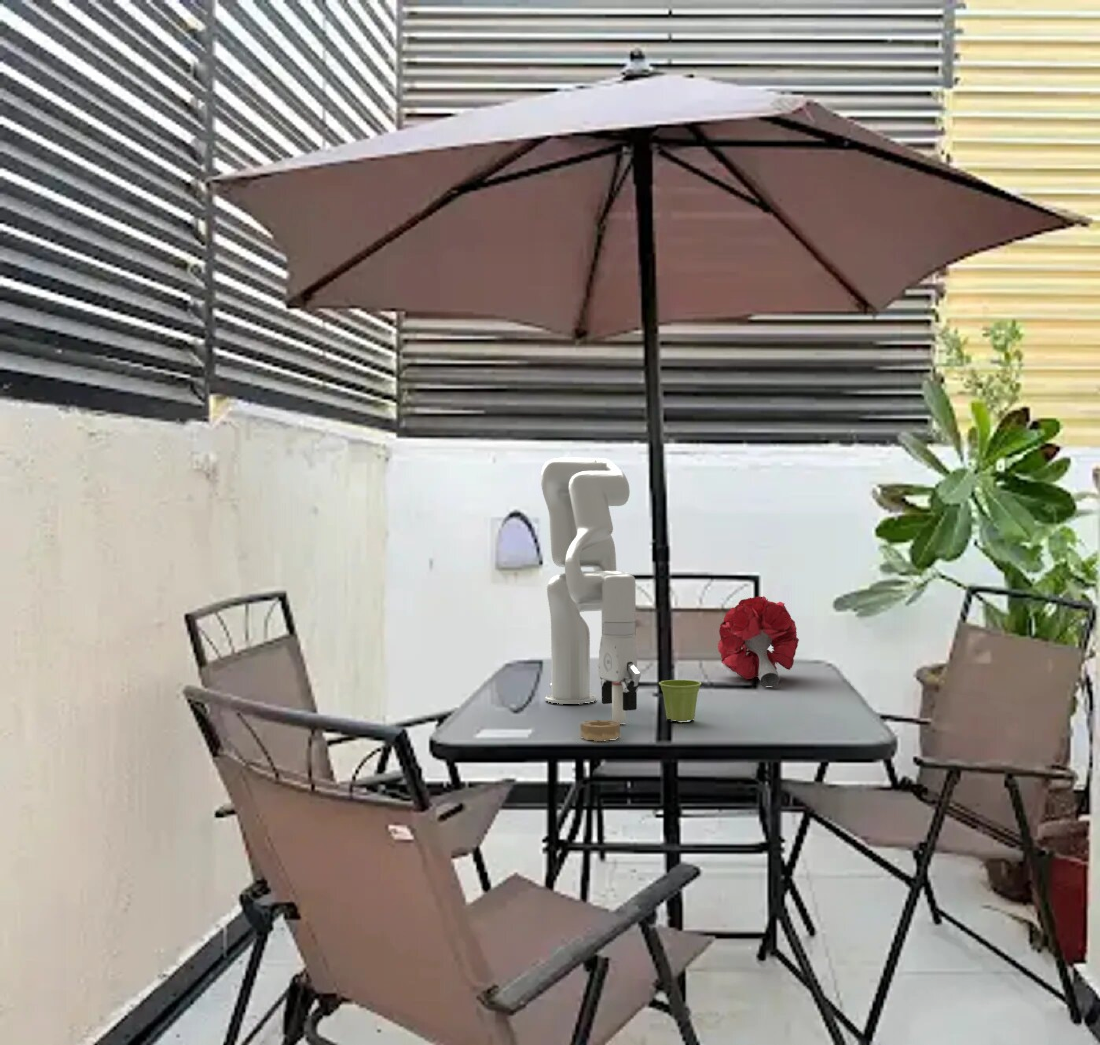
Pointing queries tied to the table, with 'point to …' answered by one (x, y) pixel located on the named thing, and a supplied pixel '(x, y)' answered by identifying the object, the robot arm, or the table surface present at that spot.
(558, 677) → the robot arm
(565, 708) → the table surface
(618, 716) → the pink-tipped cream rod
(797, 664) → the table surface
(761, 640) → the bouquet
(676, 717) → the plant pot
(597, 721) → the bead
